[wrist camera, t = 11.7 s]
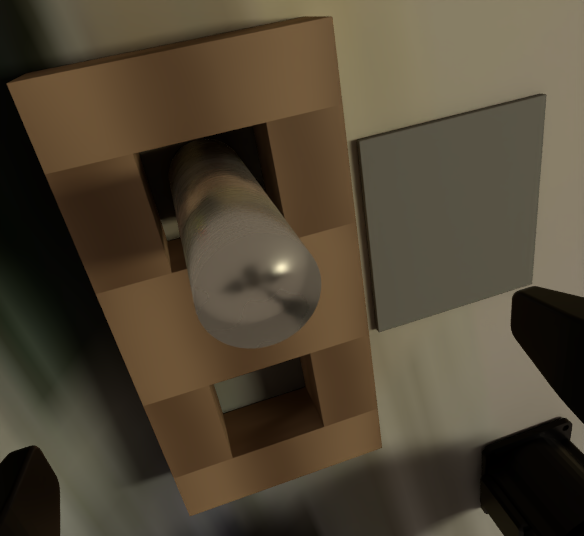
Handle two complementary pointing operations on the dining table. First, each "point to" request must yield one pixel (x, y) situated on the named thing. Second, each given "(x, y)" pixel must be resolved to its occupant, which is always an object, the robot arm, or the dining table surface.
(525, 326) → the robot arm
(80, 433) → the dining table surface
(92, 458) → the dining table surface
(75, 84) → the hole block
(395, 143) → the mat
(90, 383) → the dining table surface
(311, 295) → the peg
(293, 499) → the dining table surface
